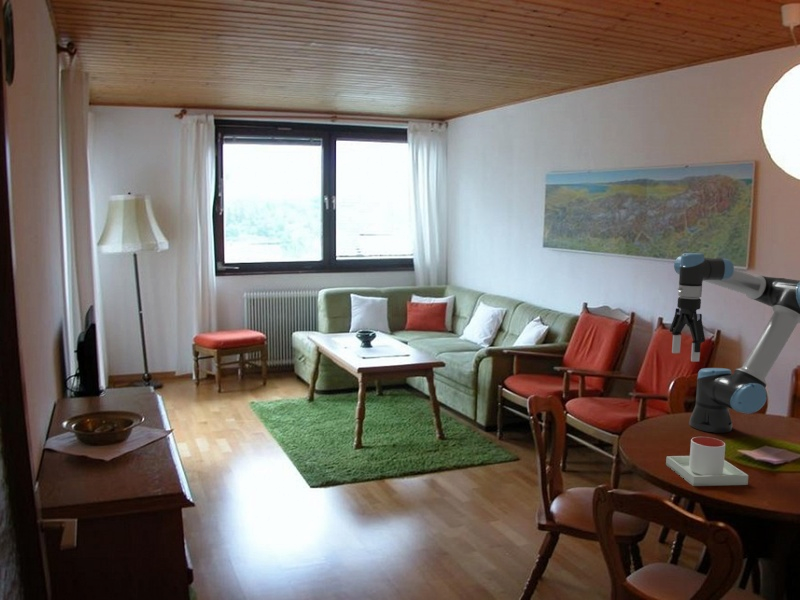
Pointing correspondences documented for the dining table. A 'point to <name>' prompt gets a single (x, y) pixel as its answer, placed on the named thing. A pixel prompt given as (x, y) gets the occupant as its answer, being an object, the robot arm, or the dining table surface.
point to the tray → (728, 476)
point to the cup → (707, 456)
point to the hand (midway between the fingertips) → (685, 357)
